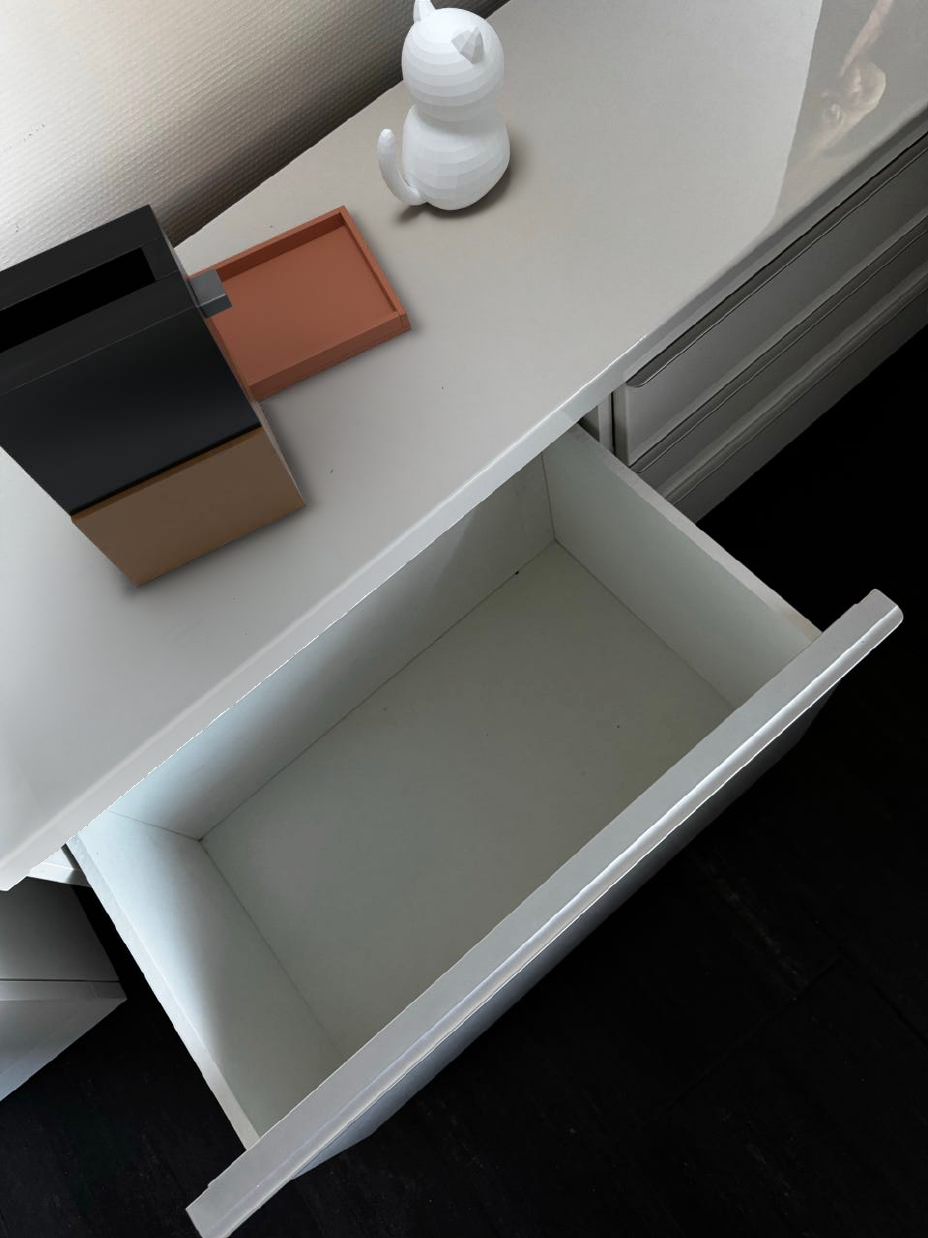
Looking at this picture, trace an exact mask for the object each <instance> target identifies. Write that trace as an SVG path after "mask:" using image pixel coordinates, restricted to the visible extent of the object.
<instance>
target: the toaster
mask: <svg viewBox="0 0 928 1238" xmlns="http://www.w3.org/2000/svg"><path fill="white" fill-rule="evenodd" d="M189 276H190V275H189V274H188V272H187V270H186V269H185V267H184V265H183V263H182V261H181V260H180V258H179V255H178V254H177V252H176V250H175V249H174V247H173V245H172V243H171V241H170V240H169V237H168V236H167V234H166V232H165V230H164V228H163V226H162V225H161V223H160V221H159V219H158V217H157V215H156V213H155V211H154V210H153V208H152V207H151V204H149V203H147V204H145V205H143V206H140V207H138V208H136V209H134V210H132V211H129V212H128V213H125V214H123V215H121V216H119V217H116V218H114V219H112V220H110V221H107V222H105V223H103V224H101V225H99V226H96V227H94V228H92V229H90V230H88V231H86V232H83V233H81V234H78V235H77V236H74V237H72V238H70V239H68V240H66V241H64V242H61V243H59V244H57V245H55V246H52V247H50V248H48V249H46V250H44V251H41V252H39V253H37V254H35V255H33V256H30V257H28V258H27V259H24V260H22V261H20V262H18V263H15V264H13V265H11V266H9V267H6V268H4V269H2V270H0V448H1V449H2V450H3V451H4V452H5V453H7V455H8V456H9V457H10V458H11V459H12V460H13V461H14V462H15V463H16V464H17V465H18V466H19V467H20V468H21V469H22V470H23V471H24V472H25V473H26V474H27V475H28V476H29V477H30V478H31V479H32V480H33V481H34V482H35V483H36V484H37V485H38V486H39V487H40V488H41V489H42V490H43V491H44V492H45V493H46V494H47V495H48V496H49V497H50V498H51V499H52V500H53V501H54V502H55V503H56V504H57V505H58V506H59V507H60V508H61V509H62V510H63V511H64V512H65V513H66V514H67V515H68V516H69V517H70V520H71V523H72V524H73V525H74V526H75V527H76V528H77V529H78V530H79V531H80V532H81V533H82V534H83V536H85V537H86V538H87V539H88V540H89V541H90V542H91V543H92V544H93V545H94V546H95V547H96V548H98V550H99V551H100V552H101V553H102V554H103V555H104V556H105V557H106V558H107V559H108V560H109V561H110V562H111V563H112V564H113V565H114V566H115V567H116V568H117V569H118V570H119V571H120V572H121V573H122V574H123V575H124V576H125V577H126V578H127V579H128V580H129V581H130V582H131V583H132V584H134V586H135V587H139V586H141V585H143V584H146V583H148V582H149V581H152V580H153V579H156V578H157V577H160V576H162V575H164V574H166V573H168V572H170V571H172V570H175V569H176V568H179V567H181V566H183V565H185V564H187V563H189V562H191V561H194V560H196V559H197V558H199V557H201V556H204V555H206V554H208V553H210V552H212V551H214V550H217V549H219V548H220V547H223V546H225V545H227V544H228V543H231V542H233V541H235V540H238V539H239V538H241V537H244V536H245V535H248V534H250V533H252V532H254V531H257V530H258V529H261V528H262V527H265V526H266V525H268V524H271V523H273V522H275V521H277V520H279V519H282V518H283V517H285V516H288V515H290V514H291V513H294V512H296V511H298V510H301V509H302V508H304V507H306V506H307V504H306V502H305V499H304V497H303V495H302V493H301V490H300V489H299V487H298V484H297V483H296V480H295V478H294V476H293V474H292V472H291V469H290V468H289V467H290V466H289V465H288V463H287V461H286V459H285V457H284V454H283V452H282V450H281V448H280V445H279V444H278V442H277V439H276V438H275V435H274V432H273V431H272V429H271V427H270V424H269V422H268V420H267V418H266V416H265V414H264V412H263V410H262V408H261V406H260V404H259V401H257V400H256V398H255V397H254V395H253V393H252V391H251V389H250V387H249V386H248V384H247V382H246V380H245V378H244V376H243V375H242V373H241V371H240V369H239V367H238V365H237V364H236V362H235V360H234V358H233V356H232V354H231V352H230V351H229V349H228V347H227V345H226V343H225V341H224V340H223V338H222V336H221V334H220V332H219V330H218V329H217V328H216V326H215V324H214V322H213V320H212V318H211V317H212V316H214V315H216V314H218V313H220V312H223V311H225V310H227V309H229V308H231V307H233V305H232V303H231V300H230V298H229V296H228V294H227V292H226V290H225V288H224V286H223V284H222V282H221V280H220V278H219V276H218V274H217V272H216V270H215V268H213V269H211V270H208V271H206V272H204V273H202V274H200V275H197V276H195V277H193V278H191V279H190V278H189Z"/></svg>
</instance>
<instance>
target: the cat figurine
mask: <svg viewBox="0 0 928 1238" xmlns="http://www.w3.org/2000/svg"><path fill="white" fill-rule="evenodd" d="M412 18H413V19H412V20H413V25H411V27H410V29H409V31H408V32H407V35H406V36H405V38H404V42H403V46H402V52H401V72H402V79H403V82H404V85H405V88H406V90H407V93H408V96H409V97H410V99H411V100H412V102H413V104H412V106H411V107H410V108H409V111H408V113H407V115H406V117H405V120H404V123H403V129H402V141H401V144H402V145H401V147H402V149H401V166H402V172H403V176H404V178H405V180H406V181H405V180H404V178H403V176H402V175H401V173H400V169H399V166H398V161H397V160H398V159H397V158H398V157H397V145H396V138H395V135H394V133H393V131H392V130H391V129H390V128H384V129H383V130H382V131H381V132H380V134H379V137H378V138H377V139H378V140H377V144H376V145H377V146H376V155H377V156H376V157H377V163H378V168H379V171H380V175H381V177H382V179H383V181H384V183H385V185H386V188H387V189H389V191H390V192H391V193H392V195H393V197H395V198H396V199H397V200H398V201H400V202H402V203H403V204H406V205H408V206H420V205H423V204H426V203H429V204H430V205H432V206H433V207H435V208H438V209H441V210H446V211H455V210H460V209H464V208H467V207H469V206H471V205H473V204H475V203H477V202H478V201H479V200H480V199H482V198H483V197H484V196H485V195H487V193H489V192H490V191H491V190H492V189H493V188H494V186H495V185H497V183H498V181H500V180H501V178H502V176H503V175H504V174H505V172H506V170H507V168H508V166H509V163H510V157H511V145H510V139H509V133H508V130H507V126H506V123H505V120H504V117H503V115H502V114H501V111H500V109H499V108H498V106H497V105H496V104H495V101H496V100H497V98H498V97H499V96H500V93H501V91H502V89H503V82H504V77H505V56H504V55H505V54H504V50H503V46H502V43H501V41H500V38H499V36H498V34H497V32H495V30H494V27H492V26H491V24H490V23H489V22H488V21H487V20H486V19H485V18H483V17H481V16H480V15H478V14H476V13H474V12H471V11H468V10H466V9H462V8H456V7H444V8H439V9H436V8H435V6H434V5H433V3H432V2H431V0H414V4H413V13H412ZM406 182H407V183H406Z"/></svg>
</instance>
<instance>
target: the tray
mask: <svg viewBox="0 0 928 1238" xmlns="http://www.w3.org/2000/svg"><path fill="white" fill-rule="evenodd" d="M213 268H215V270H216V272H217V274H218V276H219V278H220V280H221V282H222V284H223V286H224V288H225V290H226V292H227V294H228V296H229V298H230V300H231V303H232V305H233V307H231V308H229V309H227V310H225V311H223V312H220V313H218V314H216V315H214V316H212V317H211V318H212V320H213V322H214V324H215V326H216V328H217V329H218V330H219V332H220V334H221V336H222V338H223V340H224V341H225V343H226V345H227V347H228V349H229V351H230V352H231V354H232V356H233V358H234V360H235V362H236V364H237V365H238V367H239V369H240V371H241V373H242V375H243V376H244V378H245V380H246V382H247V384H248V386H249V387H250V389H251V391H252V393H253V395H254V397H255V398H256V400H257V402H259V401H260V400H263V399H266V398H267V397H270V396H272V395H274V394H276V393H278V392H281V391H283V390H284V389H287V388H289V387H291V386H294V385H296V384H297V383H299V382H302V381H303V380H306V379H308V378H310V377H312V376H314V375H316V374H319V373H321V372H323V371H325V370H327V369H330V368H332V367H334V366H335V365H339V364H340V363H342V362H345V361H346V360H348V359H350V358H353V357H355V356H357V355H360V354H361V353H364V352H365V351H368V350H371V349H373V348H374V347H376V346H378V345H380V344H382V343H386V342H387V341H389V340H391V339H393V338H395V337H398V336H399V335H401V334H404V333H406V332H408V331H411V330H412V327H411V324H410V323H411V322H410V319H409V317H408V313H407V310H406V309H405V307H404V305H403V304H402V302H401V300H400V299H399V296H398V295H397V293H396V292H395V290H394V288H393V287H392V285H391V283H390V281H389V280H388V278H387V276H386V274H385V273H384V271H383V269H382V268H381V266H380V263H378V260H377V259H376V257H375V256H374V254H373V252H372V251H371V249H370V246H369V245H368V243H367V242H366V240H365V238H364V236H363V235H362V233H361V231H360V230H359V228H358V226H357V224H356V223H355V221H354V219H353V218H352V215H351V214H350V212H349V211H348V209H347V208H346V206H345V205H344V204H342V205H341V206H339V207H335V208H334V209H332V210H330V211H327V212H326V213H323V214H321V215H319V216H317V217H315V218H312V219H310V220H308V221H305V222H304V223H301V224H299V225H297V226H295V227H292V228H290V229H288V230H287V231H284V232H282V233H280V234H277V235H275V236H273V237H271V238H268V239H266V240H265V241H262V242H260V243H258V244H256V245H253V246H251V247H249V248H247V249H244V250H243V251H241V252H238V253H236V254H234V255H232V256H230V257H227V258H225V259H223V260H220V261H219V262H217V263H215V264H212V265H210V266H208V267H206V268H204V269H201V270H199V271H196V272H195V273H193V274H191V275H188V276H189V278H190V279H191V278H193V277H195V276H197V275H200V274H202V273H204V272H206V271H208V270H211V269H213Z"/></svg>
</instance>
